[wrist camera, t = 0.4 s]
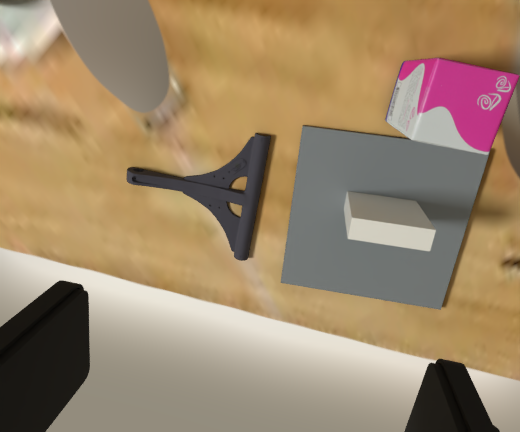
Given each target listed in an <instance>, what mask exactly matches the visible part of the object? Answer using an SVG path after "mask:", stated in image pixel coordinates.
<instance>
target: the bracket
mask: <svg viewBox="0 0 520 432" xmlns="http://www.w3.org/2000/svg"><path fill="white" fill-rule="evenodd" d="M270 138H271V136H261V135H258V133H255V137H251V138H250V140H249V141H248V143H247V144H246V146H245V147H244V148H243V150H242V151H241V152H240V153H239V154H238V155H237V156H236V157H235V158H234V159H233V160H232V161H230V162H229V163H228V164H226V165H225V166H223V167H221V168H220V169H218V170H216V171H213V172H210V173H207V174H203V175H197V176H186V177H185V178H180V177H175V176H171V175H166V174H162V173H157V172H153V171H148V170H144V169H139V168H135V167H130V168H128V169H127V182H128V183H130V184H133V185H141V186H149V187H156V188H164V189H171V190H176V191H182V192H183V193H184V194H186V195H188V196H189V197H191V198H193V199H195V200H197V201H198V202H200V203H201V204H202V205H204V206H205V207H206V208H208V209H209V210H210V211H211V212H212V214H213V215H214V216H215V217H216V218H217V220H218V221H219V223H220V224H221V226H222V227H223V229H224V231H225V233H226V235H227V238H228V241H229V244H230V247H231V250H232V251H233V252H234V257H235V258H236V259H238V260H247V259H248V255H249V249H250V244H251V239H252V233H253V228H254V223H255V218H256V212H257V207H258V202H259V196H260V191H261V186H262V181H263V175H264V170H265V165H266V159H267V154H268V149H269V144H270ZM243 176H246V177H248V178H247V184H246V189H245V191H240V190H234V189H230V188H229V186H230V184H231V182H232V181H233V180H234V179H236V178H238V177H243ZM223 177H224V178H223ZM227 202H231V203H234V204H238V205H242V213H241V217H238V216H236V215H234V214H233V213H232V212H231V211H230V209H229V208H228V205H227Z"/></svg>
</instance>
